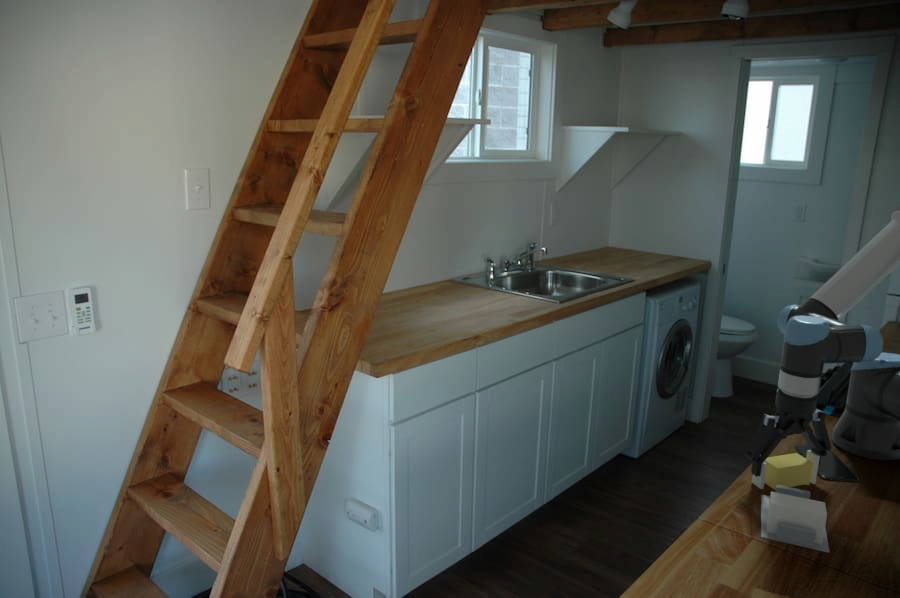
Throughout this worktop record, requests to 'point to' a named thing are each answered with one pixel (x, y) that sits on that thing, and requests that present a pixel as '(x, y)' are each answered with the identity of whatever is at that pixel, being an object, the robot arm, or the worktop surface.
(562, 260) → the worktop surface
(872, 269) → the robot arm
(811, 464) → the butter stick brick
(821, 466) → the smartphone
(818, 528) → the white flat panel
